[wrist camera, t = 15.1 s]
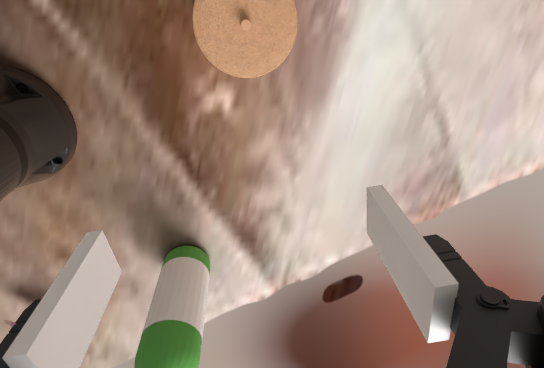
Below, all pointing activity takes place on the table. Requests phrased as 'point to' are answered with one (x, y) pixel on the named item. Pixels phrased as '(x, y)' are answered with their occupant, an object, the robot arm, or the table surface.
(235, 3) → the lidded jar
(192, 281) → the wine bottle
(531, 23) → the table surface
